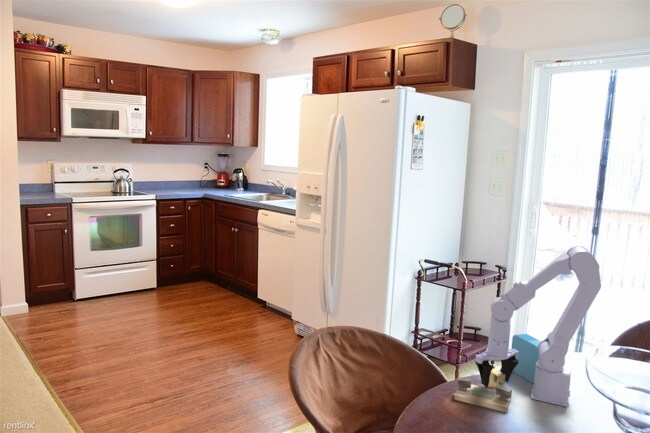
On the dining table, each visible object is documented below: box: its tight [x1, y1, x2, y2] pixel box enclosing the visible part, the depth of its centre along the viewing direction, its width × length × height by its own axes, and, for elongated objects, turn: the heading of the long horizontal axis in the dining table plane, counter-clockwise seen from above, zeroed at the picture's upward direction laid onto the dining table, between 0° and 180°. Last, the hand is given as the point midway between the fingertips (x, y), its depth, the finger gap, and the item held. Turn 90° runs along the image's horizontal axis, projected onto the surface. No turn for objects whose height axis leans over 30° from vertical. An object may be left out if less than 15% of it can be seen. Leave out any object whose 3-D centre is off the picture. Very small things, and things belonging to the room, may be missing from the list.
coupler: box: [486, 367, 506, 390], centre depth 150 cm, size 5×3×5 cm, turn 24°
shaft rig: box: [453, 376, 513, 413], centre depth 143 cm, size 15×9×4 cm, turn 64°
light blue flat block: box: [511, 333, 542, 385], centre depth 158 cm, size 12×4×12 cm, turn 18°
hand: (494, 382), depth 150 cm, fingers open, 7 cm apart
